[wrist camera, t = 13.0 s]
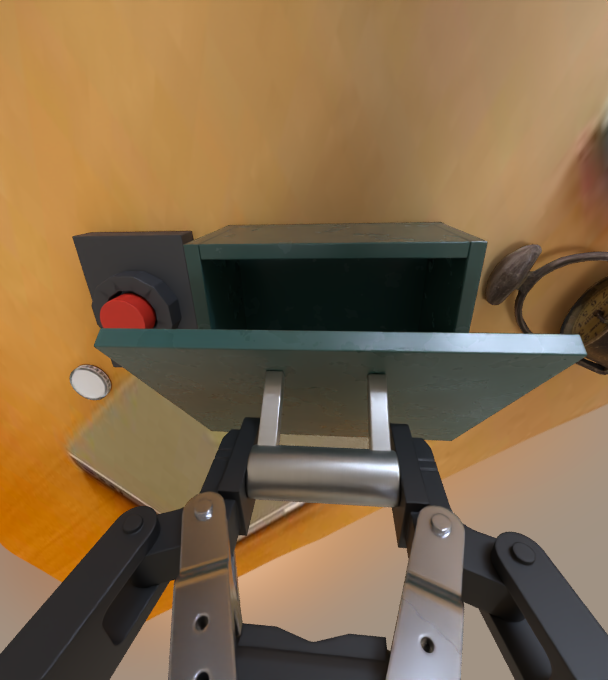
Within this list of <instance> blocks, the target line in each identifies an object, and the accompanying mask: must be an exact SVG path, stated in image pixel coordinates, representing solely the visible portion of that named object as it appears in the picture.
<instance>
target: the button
mask: <svg viewBox="0 0 608 680" xmlns="http://www.w3.org/2000/svg"><path fill="white" fill-rule="evenodd" d="M100 320H101V324H102V326H103V328H133V329H153V327H154V325H155V322H156V316H155V312H154V309H153V308H152V306H151V305H150V303H149V302H148V301H147V300H146V299H144V298H143V297H141V296H139V295H136V294H132V293H125V294H122V295H120V296H118V297H116V298H114V299H112V300H110V301H108V302H107V303H105V304H104V305H103V307H102V308H101V311H100Z"/></svg>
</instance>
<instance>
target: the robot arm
mask: <svg viewBox="0 0 608 680" xmlns="http://www.w3.org/2000/svg"><path fill="white" fill-rule="evenodd" d="M389 424H390V440H391V450H393V451H395V452H396V454H397V457H398V461H399V466H400V476H401V496H400V502H399V505H398V507H396V508H394V507H392V511H393V518H394V524H395V530H396V536H397V543H398V547H399V548H407V553H408V558H409V561H408V566H407V571H406V576H405V581H404V586H403V592H402V596H401V602H400V606H399V611H398V616H397V622H396V626H395V631H394V636H393V641H392V646H391V651H389V650H387V645H386V638H385V637H376V636H366V635H356V634H347V635H343V636H338V637H334V638H330V639H326V640H321V641H317V642H310V641H307V640H305V639H303V638H301V637H299V636H296V635H294V634H292V633H290V632H287V631H285V630H283V629H281V628H278V627H275V626H265V625H254V624H244V623H242V616H241V608H240V599H239V588H238V577H237V567H236V556H235V546H236V542H237V538H238V535H244V536H247V533H248V529H249V525H250V520H251V516H252V512H253V508H254V504H255V500H256V499H250V498H248V496H247V491H246V470H247V463H248V458H249V454H250V451H251V449H252V447H253V445H256V444H257V443H258V434H259V425H260V418H258V417H245V418H244V420H243V423H242V425H241V428H240V430H239V429H231V430H230V431H229V432H228V433H227V434H226V435H225V436H224V437H223V439H222V441H221V444H220V446H219V450H218V451H217V453H216V456H215V459H214V460H213V463H212V465H211V468H210V470H209V472H208V475H207V477H206V480H205V482H204V484H203V487H202V489H201V491H200V493H199V494H197V495H196V496H194V497H193V498H191V499H190V500H189V501H188V502H187V504H186V505H185V507H183V508H181V509H178V510H175V511H171V512H167V513H162V514H158V515H157V514H156V512H155V511H154V509H152V508H151V507H148V506H139V507H135V508H132V509H130V510H128V511H126V512H125V513H123V514H122V515H121V516H120V517H119V518H118V519H117V520H116V521H115V522H114V523H113V524H112V526H111V527H110V528H109V529H108V530H107V531H106V533H105V534H104V535H103V536H102V537H101V538H100V539H99V541H98V542H97V543H96V544H95V545H94V546H93V548H92V549H91V550H90V551H89V552H88V553H87V554H86V556H85V557H84V558H83V559H82V560H81V561H80V563H79V564H78V565H77V566H76V567H75V568H74V569H73V571H72V572H71V573H70V574H69V575H68V576H67V578H66V579H65V580H64V581H63V582H62V583H61V585H60V586H59V587H58V588H57V589H56V590H55V591H54V593H53V594H52V595H51V596H50V598H48V600H47V601H46V602H45V603H44V604H43V605H42V606H41V608H40V609H39V610H38V611H37V612H36V613H35V614H34V616H33V617H32V618H31V619H30V620H29V621H28V623H27V624H26V625H25V626H24V627H23V628H22V629H21V631H20V632H19V633H18V634H17V635H16V636H15V638H14V639H13V640H12V641H11V642H10V643H9V644H8V646H7V647H6V648H5V649H4V650H3V651H2V653H1V654H0V680H110V678H111V676H112V675H113V673H114V671H115V670H116V668H117V666H118V665H119V663H120V662H121V660H122V658H123V657H124V655H125V654H126V652H127V650H128V649H129V647H130V645H131V644H132V642H133V641H134V639H135V637H136V636H137V634H138V632H139V631H140V629H141V627H142V626H143V624H144V623H145V621H146V619H147V618H148V616H149V614H150V613H151V611H152V610H153V608H154V606H155V605H156V603H157V601H158V600H159V598H160V596H161V595H162V593H163V592H164V590H165V588H166V587H167V585H168V583H169V582H170V581H171V580H175V582H174V589H173V606H172V623H171V639H170V656H169V673H168V680H461V663H462V662H461V661H462V644H463V626H464V603H463V602H465V603H468V604H470V605H472V606H474V607H476V608H479V610H480V612H481V614H482V616H483V618H484V620H485V622H486V624H487V626H488V628H489V630H490V632H491V634H492V636H493V638H494V640H495V642H496V644H497V646H498V647H499V649H500V651H501V653H502V655H503V657H504V659H505V661H506V663H507V665H508V667H509V669H510V671H511V673H512V675H513V677H514V679H515V680H608V635H607V633H606V632H605V631H604V629H603V628H602V627H601V625H600V624H599V623H598V622H597V620H596V619H595V618H594V616H593V615H592V614H591V612H590V611H589V610H588V608H587V607H586V606H585V604H584V603H583V602H582V601H581V599H580V598H579V597H578V595H577V594H576V593H575V591H574V590H573V589H572V587H571V586H570V585H569V583H568V582H567V581H566V579H565V578H564V577H563V575H562V574H561V573H560V571H559V570H558V569H557V567H556V566H555V565H554V564H553V562H552V561H551V560H550V558H549V557H548V556H547V555H546V553H545V552H544V550H543V549H542V548H541V547H540V546H539V545H538V544H537V543H536V542H534V541H533V540H531V539H530V538H528V537H526V536H524V535H522V534H519V533H516V532H505V533H502V534H500V535H499V536H498V537H497V538H494V537H491V536H488V535H486V534H483V533H480V532H477V531H475V530H472V529H471V528H469V527H467V526H466V525H464V524H463V523H462V522H461V521H460V519H459V518H458V517H457V516H456V515H455V514H454V513H453V512H452V510H451V508H450V505H449V503H448V499H447V496H446V493H445V490H444V487H443V484H442V481H441V478H440V475H439V472H438V469H437V466H436V462H435V459H434V456H433V453H432V450H431V448H430V447H429V445H428V444H427V443H426V442H425V441H424V440H423V438H413V437H412V436H411V432H410V428H409V425H408V424H397V423H389Z"/></svg>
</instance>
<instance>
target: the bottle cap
mask: <svg viewBox="0 0 608 680" xmlns="http://www.w3.org/2000/svg"><path fill="white" fill-rule="evenodd" d="M70 383H71V385H72V387H73V388H74V390H75V391H76V392H77V393H78V394H80V395H81V396H83V397H85V398H87V399H90V400H100V399H102V398H104V397H105V396H106V395H107V394H108V393H109V392H110V389H111V383H110V380H109V378H108V376H107V375H106V374H105V373H104V372H103V371H102V370H100V369H99V368H97V367H94V366H91V365H81V366H79V367H77V368H76V369H75V370H73V371H72V372H71V374H70Z"/></svg>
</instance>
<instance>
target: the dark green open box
mask: <svg viewBox="0 0 608 680" xmlns="http://www.w3.org/2000/svg"><path fill="white" fill-rule="evenodd" d="M183 246H184V252H185V257H186V263H187V269H188V274H189V280H190V286H191V291H192V297H193V302H194V308H195V314H196V319H197V325H198V329H211V330H288V331H366V332H444V333H469V329H470V324H471V320H472V315H473V310H474V305H475V300H476V296H477V291H478V286H479V281H480V277H481V272H482V267H483V262H484V257H485V253H486V248H487V241H485V240H482V239H480V238H477V237H475V236H473V235H470V234H468V233H465V232H463V231H460V230H458V229H456V228H453V227H451V226H448V225H446V224H444V223H442V222H412V223H349V224H286V225H228V226H226V227H224V228H221V229H219V230H217V231H214V232H212V233H210V234H207V235H205V236H202V237H200V238H198V239H195V240H193V241H191V242H188V243H186V244H184V245H183Z"/></svg>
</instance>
